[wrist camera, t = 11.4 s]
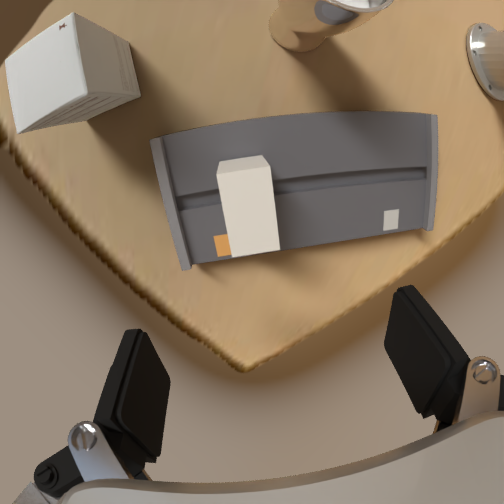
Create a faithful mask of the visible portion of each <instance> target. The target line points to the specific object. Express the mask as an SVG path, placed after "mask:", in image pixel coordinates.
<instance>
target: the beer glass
mask: <svg viewBox="0 0 504 504" xmlns="http://www.w3.org/2000/svg"><path fill="white" fill-rule="evenodd" d="M393 1H394V0H278V8H277V9H276V10H275V11H274V12H273V13H272V15H271V17H270V19H269V30H270V33H271V35H272V37H273V38H274V40H275V41H276V42H277V43H278V44H280V45H281V46H282V47H284V48H286V49H289V50H292V51H297V52H306V51H310V50H313V49H315V48H317V47H318V46H319V45H320V44H321V43H322V42H323V40H324V39H325V37H330V36H334V35H339V34H342V33H345V32H348V31H351V30H353V29H355V28H357V27H359V26H361V25H362V24H364V23H365V22H367V21H369V20H370V19H371V18H373V17H374V16H375V15H377V14H378V13H379V12H380V11H382V10H383V9H385V8H387V7H388V6H389V5H390V4H391V3H392V2H393Z"/></svg>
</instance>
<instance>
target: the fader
mask: <svg viewBox="0 0 504 504" xmlns="http://www.w3.org/2000/svg"><path fill="white" fill-rule="evenodd" d="M216 175H217V181H218V186H219V192H220V197H221V202H222V208H223V213H224V218H225V224H226V229H227V234H228V239H229V244H230V249H231V254H232V257H238V256H244V255H251V254H257V253H264V252H270V251H276V250H280V244H279V235H278V226H277V218H276V209H275V201H274V192H273V184H272V176H271V169H270V165H269V164H268V162H267V161H266V160H265V158H264V157H263V156H262V155H258V156H251V157H245V158H238V159H232V160H226V161H220V162H219V166H218V170H217V174H216Z"/></svg>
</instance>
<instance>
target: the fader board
mask: <svg viewBox="0 0 504 504" xmlns="http://www.w3.org/2000/svg"><path fill="white" fill-rule="evenodd" d="M149 141H150V146H151V150H152V155H153V160H154V164H155V169H156V173H157V177H158V182H159V186H160V190H161V194H162V198H163V202H164V206H165V210H166V214H167V218H168V222H169V226H170V229H171V233H172V237H173V240H174V244H175V248H176V251H177V255H178V258H179V262H180V265H181V268H182V271H183V270H189V269H191V267H192V265H193V264H199V263H206V262H212V261H218V260H225V259H231V258H238V257H244V256H250V255H244V256H238V257H232V254H231V249H230V244H229V239H228V234H227V229H226V224H225V218H224V213H223V208H222V202H221V197H220V192H219V186H218V181H217V175H216V174H217V170H218V166H219V162H220V161H226V160H232V159H238V158H245V157H251V156H258V155H262V156H263V157H264V158H265V160H266V161H267V162H268V164H269V165H270V169H271V176H272V184H273V192H274V201H275V209H276V218H277V226H278V235H279V244H280V250H276V251H282V250H288V249H295V248H301V247H307V246H314V245H320V244H326V243H332V242H339V241H345V240H351V239H357V238H364V237H370V236H376V235H382V234H388V233H395V232H401V231H407V230H413V229H419V228H423V229H425V230H426V231H431V230H433V226H434V217H435V207H436V195H437V178H438V119H437V115H433V114H425V113H415V112H395V111H336V112H316V113H301V114H290V115H279V116H270V117H262V118H254V119H247V120H240V121H233V122H227V123H221V124H215V125H210V126H205V127H200V128H195V129H190V130H185V131H180V132H176V133H172V134H167V135H163V136H159V137H156V138H153V139H150V140H149ZM276 251H270V252H276ZM264 253H269V252H264ZM257 254H263V253H257ZM257 254H251V255H257Z"/></svg>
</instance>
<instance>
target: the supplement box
mask: <svg viewBox="0 0 504 504" xmlns="http://www.w3.org/2000/svg"><path fill="white" fill-rule="evenodd" d="M5 65H6V74H7V81H8V88H9V95H10V101H11V106H12V111H13V116H14V121H15V125H16V130H17V134H21V133H25V132H29V131H33V130H38V129H42V128H47V127H51V126H57V125H62V124H69V123H75V122H82V121H87V120H88V119H90V118H92V117H94V116H97V115H99V114H101V113H103V112H105V111H108V110H110V109H112V108H114V107H117V106H119V105H122V104H124V103H126V102H129V101H131V100H134V99H136V98H139V97H141V94H140V90H139V85H138V81H137V77H136V73H135V69H134V65H133V60H132V56H131V52H130V47H129V42H128V41H126V40H124V39H122V38H121V37H119V36H117V35H115V34H114V33H112V32H110V31H108V30H107V29H105V28H103V27H101V26H99V25H97V24H96V23H94V22H92V21H90V20H88V19H86V18H84V17H82V16H80V15H78V14H76V13H71V14H70V15H68V16H66V17H65V18H63V19H61V20H60V21H58V22H56V23H55V24H53V25H52V26H50V27H49V28H47V29H46V30H44V31H43V32H41V33H40V34H38V35H37V36H35V37H34V38H33V39H31V40H30V41H29V42H27V43H26V44H25V45H23V46H22V47H21V48H19V49H18V50H17V51H16V52H14V53H13V54H12V55H11V56H9V57H8V58H7V59H6V61H5Z"/></svg>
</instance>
